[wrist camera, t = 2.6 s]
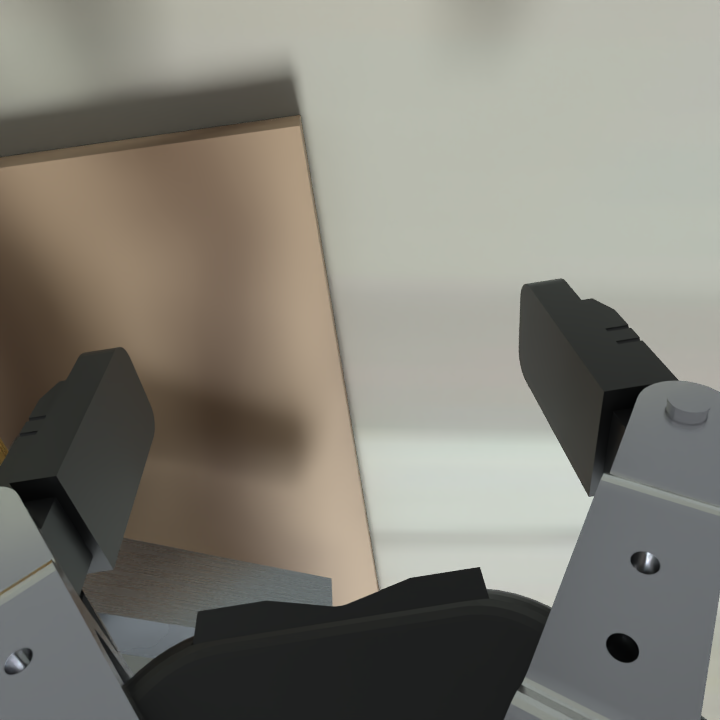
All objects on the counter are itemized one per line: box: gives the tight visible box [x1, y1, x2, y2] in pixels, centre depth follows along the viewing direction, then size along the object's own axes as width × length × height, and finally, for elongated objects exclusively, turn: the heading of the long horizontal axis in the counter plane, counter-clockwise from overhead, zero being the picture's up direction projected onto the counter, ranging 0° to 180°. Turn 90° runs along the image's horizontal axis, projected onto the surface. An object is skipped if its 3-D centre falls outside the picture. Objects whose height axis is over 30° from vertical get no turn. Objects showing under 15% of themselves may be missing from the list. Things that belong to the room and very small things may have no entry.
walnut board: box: [0, 115, 379, 606], centre depth 22 cm, size 21×24×1 cm
